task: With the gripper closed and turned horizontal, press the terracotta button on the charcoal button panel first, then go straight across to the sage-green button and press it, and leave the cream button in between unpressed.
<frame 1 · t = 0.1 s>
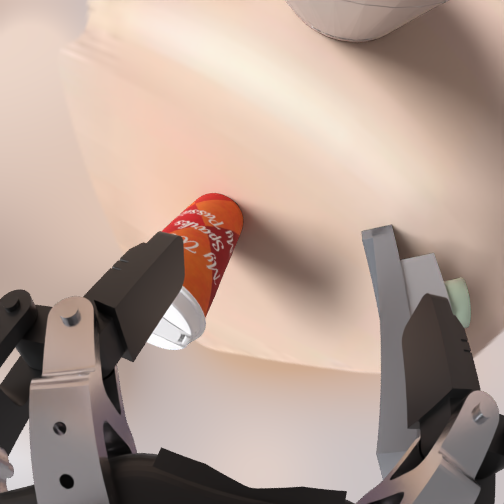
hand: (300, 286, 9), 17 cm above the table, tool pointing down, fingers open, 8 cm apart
button panel: (403, 303, 30), on the table
sage button: (450, 305, 19), point 8 cm above the table, slide at 0.0 cm
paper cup: (217, 216, 30), on the table
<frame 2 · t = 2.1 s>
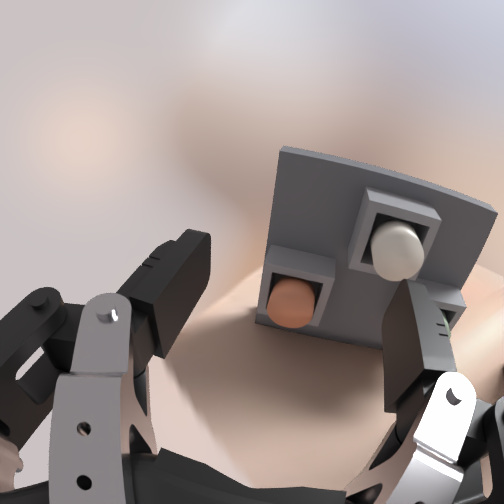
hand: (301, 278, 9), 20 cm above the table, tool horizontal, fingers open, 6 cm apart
button panel: (341, 342, 32), on the table
sage button: (429, 330, 24), point 8 cm above the table, slide at 0.0 cm
cream button: (396, 250, 20), point 16 cm above the table, slide at 0.0 cm
terracotta button: (291, 302, 26), point 8 cm above the table, slide at 0.0 cm
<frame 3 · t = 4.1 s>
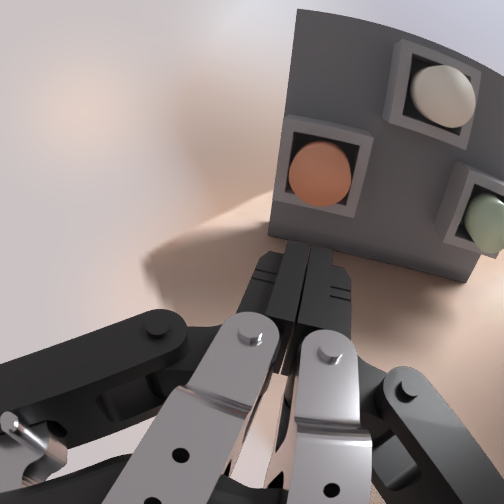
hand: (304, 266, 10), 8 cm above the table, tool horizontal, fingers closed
button panel: (377, 260, 25), on the table
sage button: (489, 222, 17), point 8 cm above the table, slide at 0.0 cm
cream button: (442, 95, 14), point 15 cm above the table, slide at 0.0 cm
terracotta button: (320, 172, 19), point 8 cm above the table, slide at 0.0 cm
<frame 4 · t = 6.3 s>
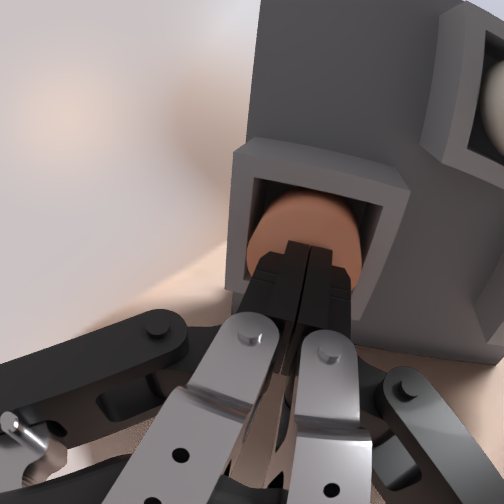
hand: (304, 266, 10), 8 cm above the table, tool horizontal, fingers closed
button panel: (388, 350, 17), on the table
terracotta button: (307, 246, 11), point 8 cm above the table, slide at 0.8 cm, touching gripper
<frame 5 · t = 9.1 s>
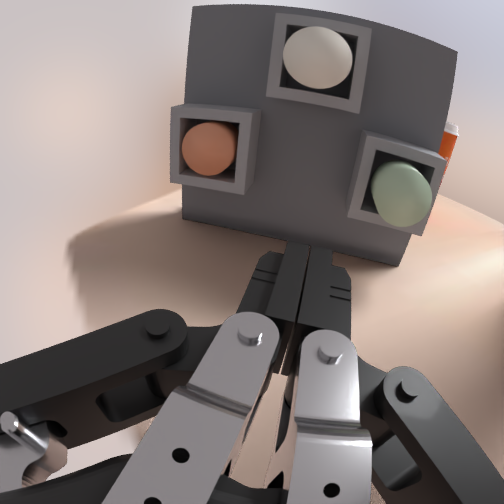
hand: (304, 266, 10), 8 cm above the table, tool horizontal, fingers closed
button panel: (290, 241, 26), on the table
sage button: (400, 192, 18), point 8 cm above the table, slide at 0.0 cm
cream button: (318, 58, 15), point 16 cm above the table, slide at 0.0 cm
terracotta button: (212, 146, 21), point 8 cm above the table, slide at 1.9 cm
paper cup: (409, 210, 37), on the table
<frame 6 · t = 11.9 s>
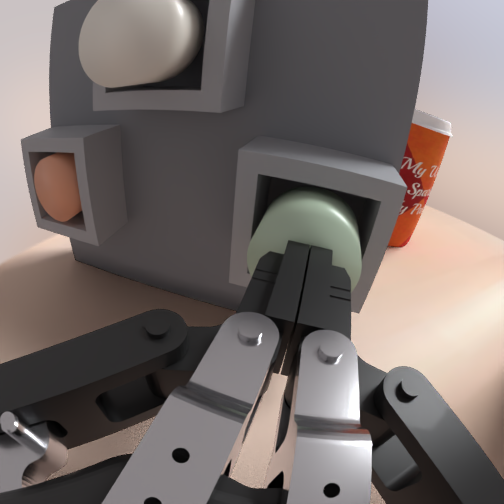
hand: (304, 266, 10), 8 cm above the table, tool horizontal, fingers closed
button panel: (185, 296, 19), on the table
sage button: (307, 247, 11), point 8 cm above the table, slide at 0.2 cm, touching gripper
cream button: (139, 35, 8), point 15 cm above the table, slide at 0.0 cm
terracotta button: (67, 182, 15), point 8 cm above the table, slide at 1.9 cm
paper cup: (385, 234, 30), on the table
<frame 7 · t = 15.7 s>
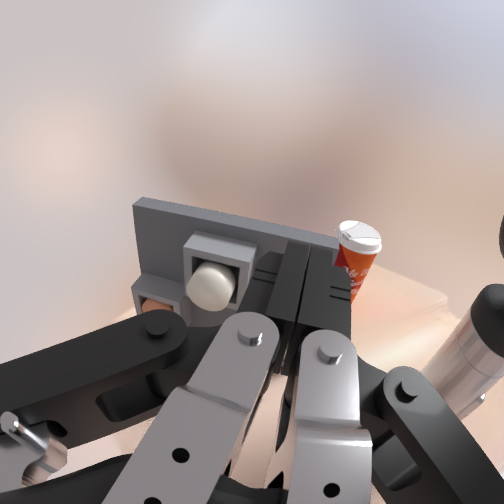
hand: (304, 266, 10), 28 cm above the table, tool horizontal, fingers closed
button panel: (219, 351, 39), on the table
sage button: (276, 339, 32), point 8 cm above the table, slide at 1.9 cm
cream button: (211, 286, 27), point 15 cm above the table, slide at 0.0 cm
terracotta button: (161, 307, 34), point 8 cm above the table, slide at 1.9 cm
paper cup: (335, 300, 50), on the table
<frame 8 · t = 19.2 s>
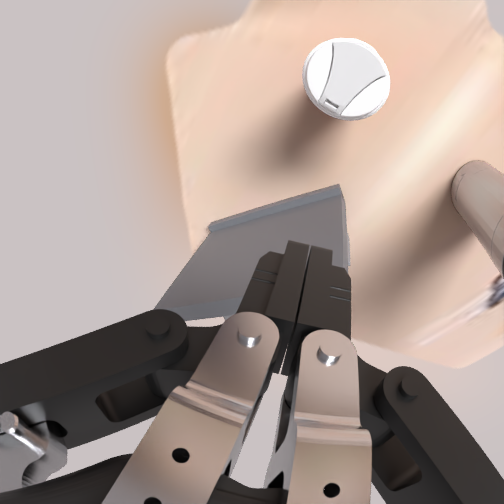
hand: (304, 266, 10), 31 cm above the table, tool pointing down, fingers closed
button panel: (277, 221, 44), on the table
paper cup: (342, 80, 31), on the table
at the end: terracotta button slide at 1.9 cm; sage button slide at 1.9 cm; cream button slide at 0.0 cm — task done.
